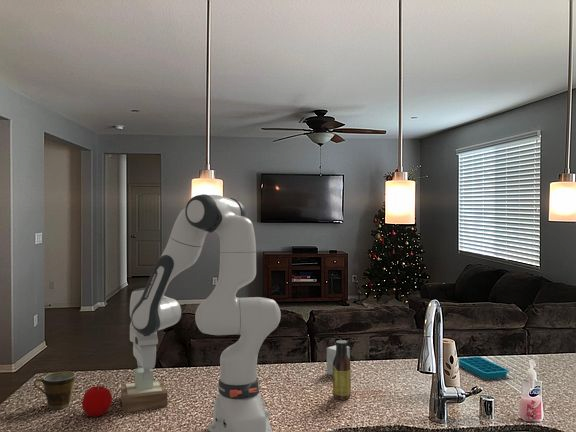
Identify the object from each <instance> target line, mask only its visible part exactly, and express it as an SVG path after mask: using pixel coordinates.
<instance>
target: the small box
mask: <svg viewBox="0 0 576 432" xmlns="http://www.w3.org/2000/svg"><path fill="white" fill-rule="evenodd" d="M350 350H351V348H350V346H348V345H347V356H348V357H349V359H350V360H351V357H350V353H351V352H350ZM335 355H336V344H335V345H332V346H328V347H326V374H328V375H331V376H333V361H334V358H335Z"/></svg>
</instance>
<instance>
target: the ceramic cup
mask: <svg viewBox="0 0 576 432" xmlns="http://www.w3.org/2000/svg"><path fill="white" fill-rule="evenodd" d="M76 377H77V375H76V372H73V371H68V370H67V371H64V370H63V371H57V372H52V373H48V374H46V375H44V376H43V378H36V379H35V380H34V382H33V385H34V388H36V389H38V390H39V391H41V393H42V394H44V395H45V397H46V400H47V406H48V408H49V409H51V410H63V409H65V408H68V407H70V405H71V403H72V400H73V399H72V398H73V393H74V386H75V382H76ZM37 382H41V383H42V385H43V386H44V390H43V389H42V388H40V387H39V386H37V385H36V383H37Z"/></svg>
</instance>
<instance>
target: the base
mask: <svg viewBox="0 0 576 432" xmlns="http://www.w3.org/2000/svg"><path fill="white" fill-rule="evenodd" d="M120 400H121V405H122V410H123V411H122V412H123V413H128V412H129V413H130V412H137V411H143V410H151V409H157V408H165V407H168V390H167V389H166V386H165V384H164V381H163V379H162V378H161V379H155V380H154V379H153V388H151V389H146V390H141V391H138V390H137V389H136V387H135V382H130V383H121V384H120Z"/></svg>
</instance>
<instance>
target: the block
mask: <svg viewBox="0 0 576 432" xmlns="http://www.w3.org/2000/svg"><path fill="white" fill-rule="evenodd" d="M143 374H144V370H143V368H138V367H137V368H134V383H135V387H136V389H137V390H138V391H141V390H146V389H151V388H153V380H154V369H153V368H152V369H150V374H149V379H148V380H144V378H143Z"/></svg>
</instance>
